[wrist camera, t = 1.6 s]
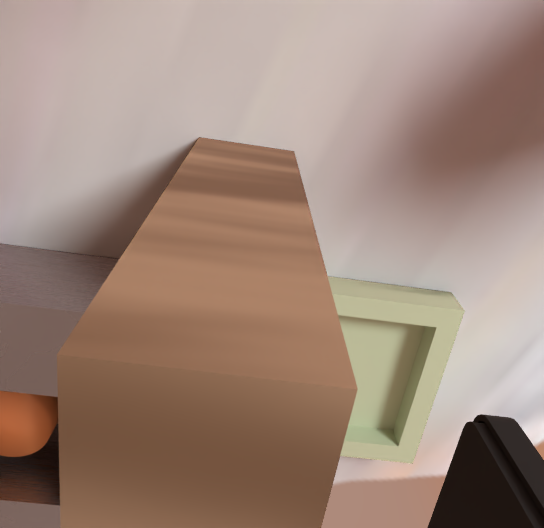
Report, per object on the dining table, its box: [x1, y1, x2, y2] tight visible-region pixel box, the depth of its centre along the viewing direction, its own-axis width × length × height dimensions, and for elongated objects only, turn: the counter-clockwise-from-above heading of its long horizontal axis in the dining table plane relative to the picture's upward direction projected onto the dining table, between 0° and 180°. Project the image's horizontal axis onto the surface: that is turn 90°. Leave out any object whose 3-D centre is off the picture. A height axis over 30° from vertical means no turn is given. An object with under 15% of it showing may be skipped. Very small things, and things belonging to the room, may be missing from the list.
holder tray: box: [328, 276, 465, 464], centre depth 25 cm, size 9×9×2 cm
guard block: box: [0, 244, 119, 528], centre depth 24 cm, size 14×16×5 cm
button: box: [0, 391, 58, 457], centre depth 24 cm, size 4×4×2 cm
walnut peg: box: [57, 137, 358, 528], centre depth 15 cm, size 4×4×16 cm
